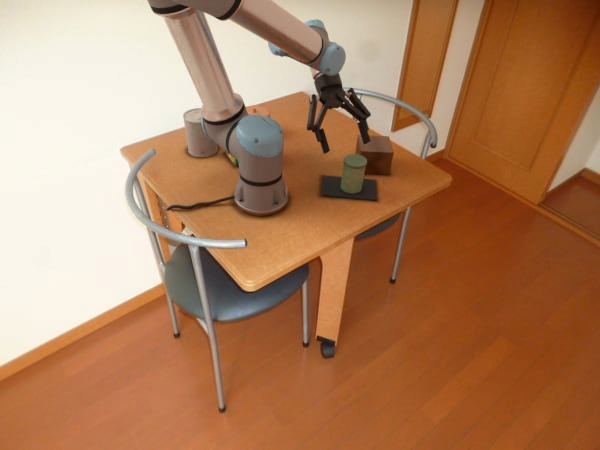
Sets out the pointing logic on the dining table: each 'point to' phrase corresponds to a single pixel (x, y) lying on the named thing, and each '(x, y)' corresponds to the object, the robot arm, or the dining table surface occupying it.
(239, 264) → the dining table surface
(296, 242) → the dining table surface
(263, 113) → the trinket box
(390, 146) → the walnut block
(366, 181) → the rubber mat
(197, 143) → the grey cylinder
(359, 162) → the green tin
